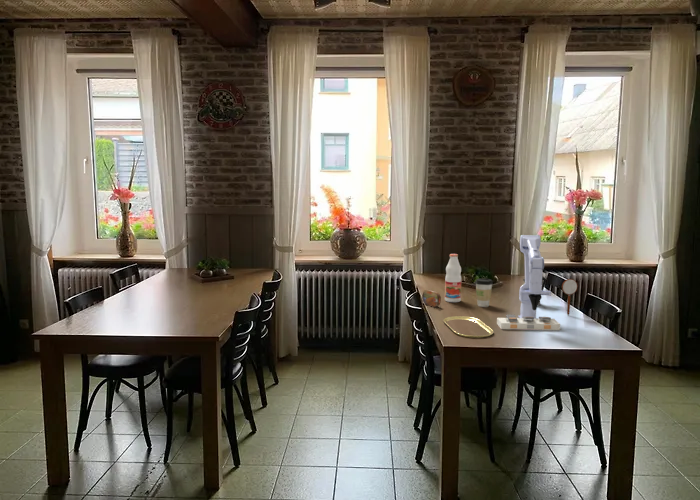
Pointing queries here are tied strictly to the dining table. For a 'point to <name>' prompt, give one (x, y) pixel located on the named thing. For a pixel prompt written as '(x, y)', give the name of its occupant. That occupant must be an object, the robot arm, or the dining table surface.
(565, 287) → the magnifying glass
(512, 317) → the rocker
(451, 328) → the serving platter
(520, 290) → the robot arm
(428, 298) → the tin
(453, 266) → the fruit juice
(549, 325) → the switch panel
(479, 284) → the coffee cup
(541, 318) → the rocker
